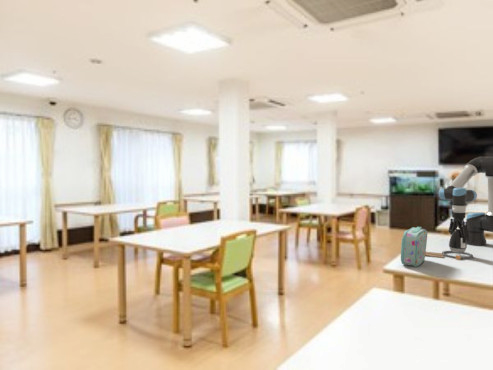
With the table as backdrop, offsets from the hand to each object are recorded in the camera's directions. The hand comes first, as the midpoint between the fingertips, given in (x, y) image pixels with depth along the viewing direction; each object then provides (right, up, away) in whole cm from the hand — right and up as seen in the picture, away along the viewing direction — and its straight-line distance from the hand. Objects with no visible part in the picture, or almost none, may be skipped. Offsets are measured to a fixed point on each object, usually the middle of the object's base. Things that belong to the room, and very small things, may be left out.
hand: (457, 245), depth 254 cm
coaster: (-15, -6, +1) cm, 16 cm away
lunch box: (-36, -8, -18) cm, 41 cm away
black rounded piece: (0, -4, 0) cm, 4 cm away
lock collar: (0, -6, 0) cm, 6 cm away
